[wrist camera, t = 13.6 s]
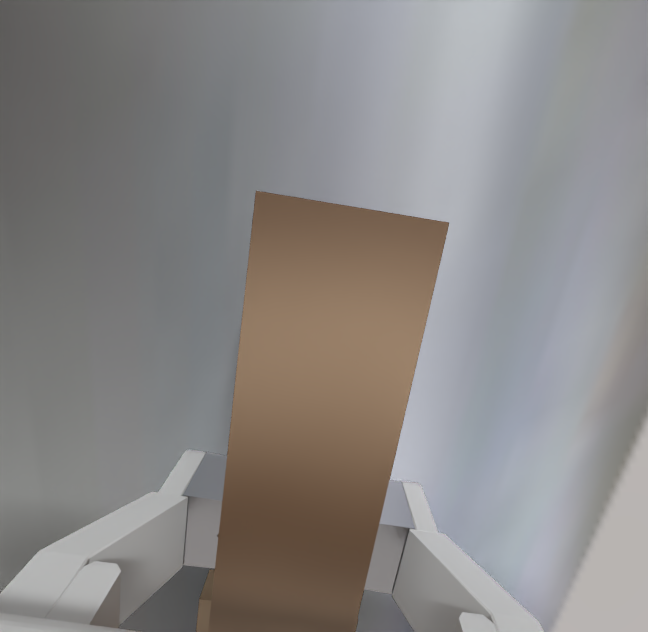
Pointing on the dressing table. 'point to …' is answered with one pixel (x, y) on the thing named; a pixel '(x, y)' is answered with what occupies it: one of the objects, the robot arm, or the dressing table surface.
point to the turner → (316, 410)
